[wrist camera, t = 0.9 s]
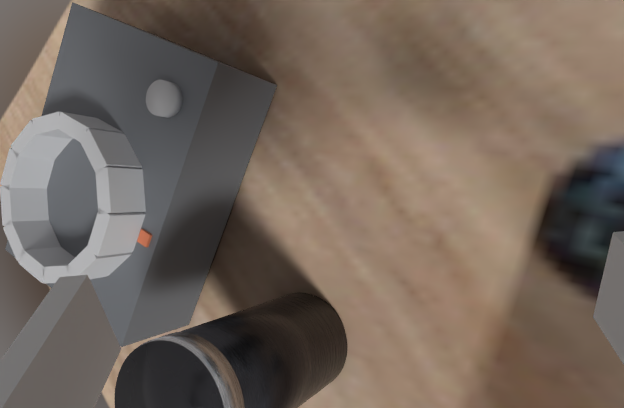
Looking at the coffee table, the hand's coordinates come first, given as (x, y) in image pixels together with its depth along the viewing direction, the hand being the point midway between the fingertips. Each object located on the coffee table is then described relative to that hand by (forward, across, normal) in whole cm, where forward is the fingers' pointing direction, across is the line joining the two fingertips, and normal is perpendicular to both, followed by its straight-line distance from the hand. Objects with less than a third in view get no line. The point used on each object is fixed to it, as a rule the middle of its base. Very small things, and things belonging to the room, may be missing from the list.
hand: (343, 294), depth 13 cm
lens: (+12, -3, -15) cm, 19 cm away
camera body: (+22, -13, -7) cm, 27 cm away
